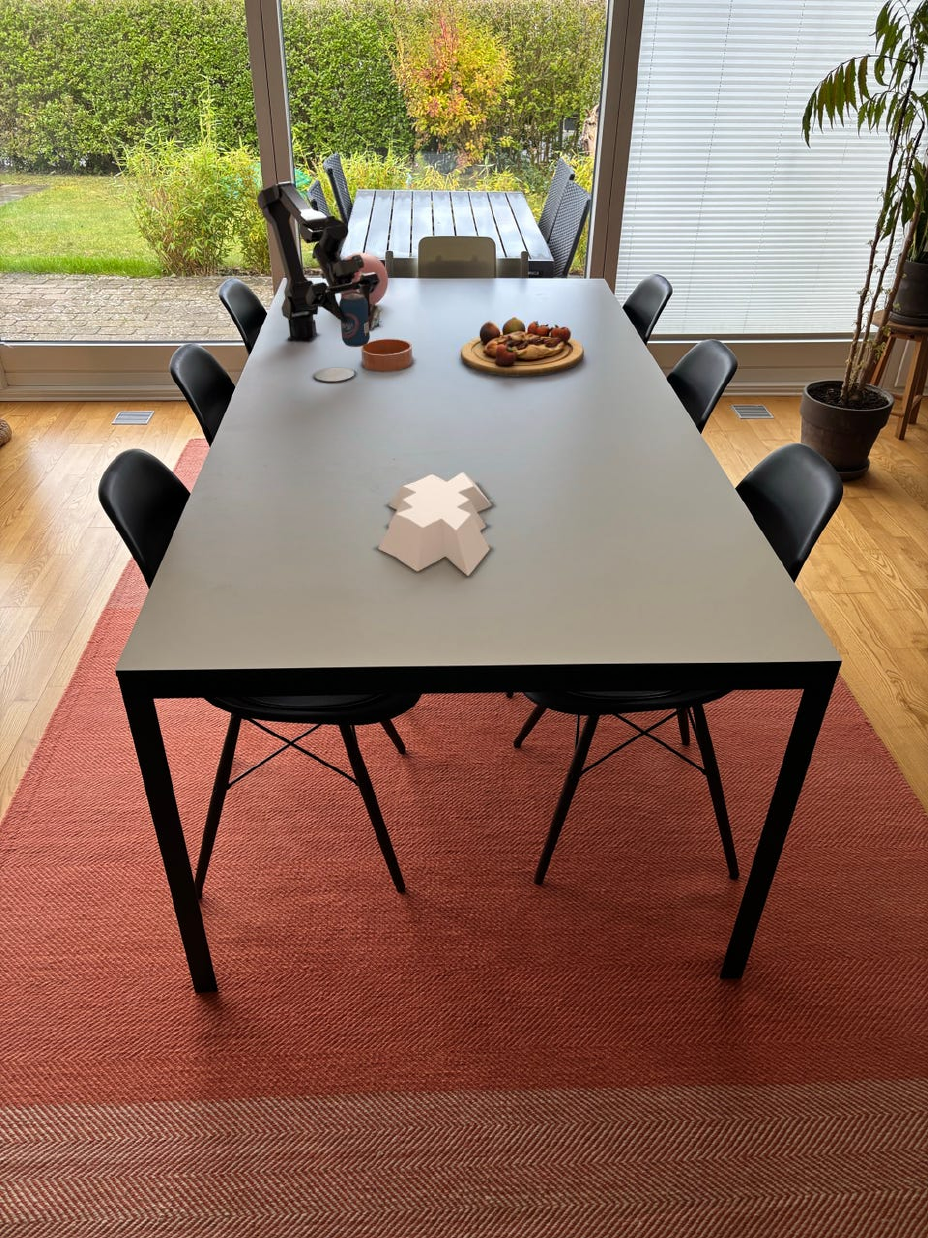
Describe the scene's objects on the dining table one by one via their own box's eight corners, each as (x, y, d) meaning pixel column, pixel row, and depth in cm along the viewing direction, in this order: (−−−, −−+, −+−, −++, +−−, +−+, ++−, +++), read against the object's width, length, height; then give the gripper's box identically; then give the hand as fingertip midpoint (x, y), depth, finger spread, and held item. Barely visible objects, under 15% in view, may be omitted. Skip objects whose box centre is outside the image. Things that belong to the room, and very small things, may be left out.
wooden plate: (538, 388, 237) (539, 354, 233) (435, 363, 254) (434, 331, 249) (606, 351, 258) (608, 320, 254) (507, 331, 275) (507, 301, 270)
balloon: (334, 318, 288) (329, 264, 279) (341, 299, 305) (337, 247, 296) (386, 317, 288) (383, 263, 279) (391, 298, 304) (388, 246, 296)
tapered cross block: (393, 484, 195) (391, 458, 192) (493, 484, 194) (493, 458, 191) (371, 575, 166) (368, 547, 163) (488, 576, 165) (488, 547, 162)
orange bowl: (355, 369, 251) (354, 353, 249) (372, 352, 262) (371, 337, 259) (403, 372, 248) (402, 356, 246) (418, 356, 259) (417, 340, 256)
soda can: (337, 345, 246) (333, 297, 239) (352, 337, 251) (348, 289, 244) (360, 349, 243) (357, 300, 237) (375, 341, 249) (372, 293, 242)
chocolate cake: (376, 333, 276) (385, 295, 279) (351, 327, 275) (361, 288, 278) (373, 348, 286) (382, 310, 288) (349, 341, 285) (359, 304, 287)
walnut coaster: (308, 381, 245) (308, 379, 244) (323, 367, 253) (323, 366, 252) (345, 384, 242) (345, 382, 242) (360, 370, 250) (359, 368, 250)
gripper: (306, 250, 232) (333, 308, 231) (373, 238, 241) (400, 293, 240) (294, 277, 242) (320, 332, 241) (359, 264, 251) (385, 318, 250)
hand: (357, 318), depth 243 cm, fingers closed on soda can, 7 cm apart
